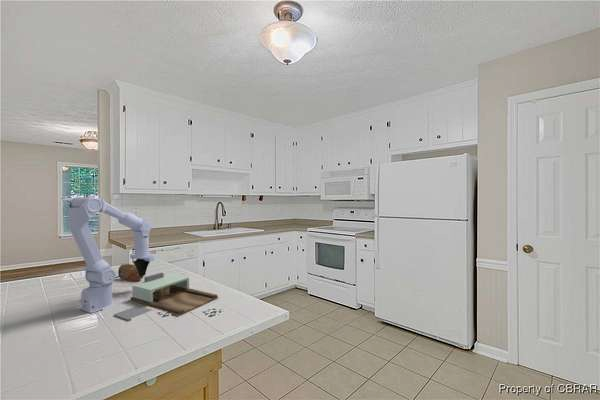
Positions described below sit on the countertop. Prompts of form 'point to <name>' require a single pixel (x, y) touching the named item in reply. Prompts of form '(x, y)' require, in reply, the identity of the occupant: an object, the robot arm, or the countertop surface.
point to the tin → (129, 272)
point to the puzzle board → (178, 300)
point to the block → (162, 292)
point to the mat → (132, 312)
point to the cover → (157, 285)
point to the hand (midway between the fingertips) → (142, 275)
